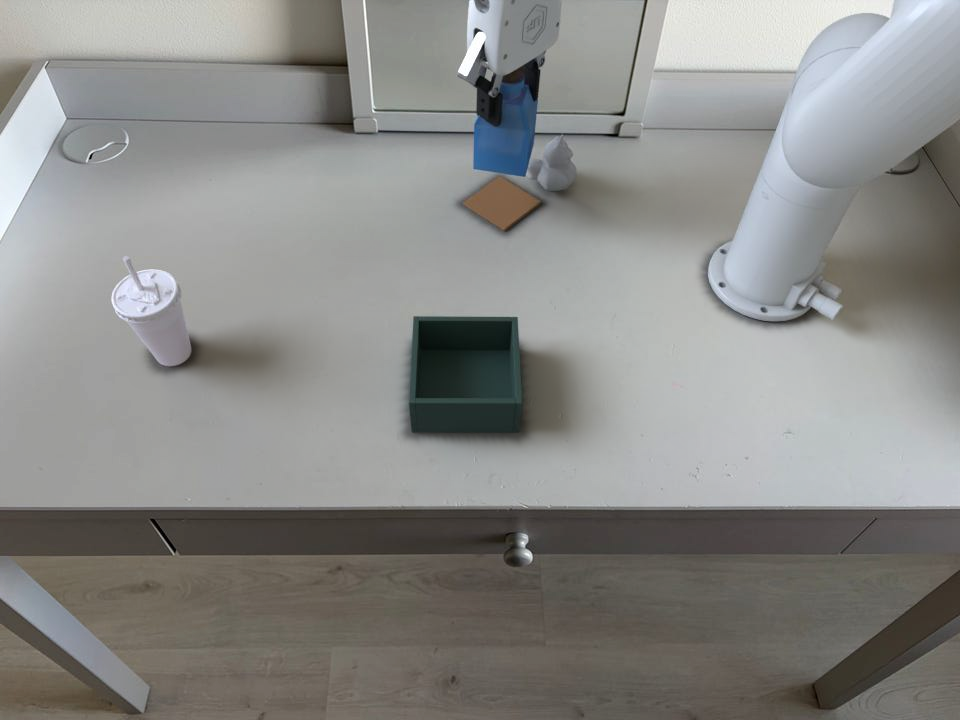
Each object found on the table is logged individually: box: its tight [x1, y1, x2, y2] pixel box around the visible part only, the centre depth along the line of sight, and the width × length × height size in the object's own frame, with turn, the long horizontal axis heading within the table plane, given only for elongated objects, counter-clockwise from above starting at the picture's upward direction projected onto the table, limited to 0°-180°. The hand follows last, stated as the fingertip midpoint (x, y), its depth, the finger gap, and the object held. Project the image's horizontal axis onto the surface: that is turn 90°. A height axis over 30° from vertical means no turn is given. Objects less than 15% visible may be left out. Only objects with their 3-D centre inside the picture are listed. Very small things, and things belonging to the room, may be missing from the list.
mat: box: [462, 175, 542, 232], centre depth 98 cm, size 7×7×1 cm
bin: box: [408, 315, 523, 433], centre depth 79 cm, size 11×11×5 cm
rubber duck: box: [525, 133, 578, 192], centre depth 98 cm, size 5×7×8 cm
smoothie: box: [110, 255, 192, 367], centre depth 78 cm, size 6×6×14 cm
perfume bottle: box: [472, 65, 539, 178], centre depth 88 cm, size 6×6×12 cm
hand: (507, 106), depth 87 cm, fingers closed on perfume bottle, 5 cm apart
